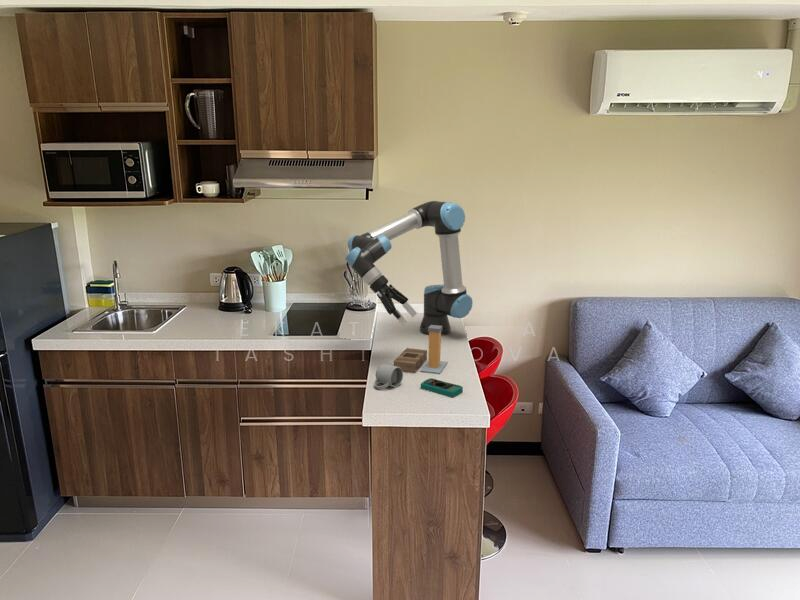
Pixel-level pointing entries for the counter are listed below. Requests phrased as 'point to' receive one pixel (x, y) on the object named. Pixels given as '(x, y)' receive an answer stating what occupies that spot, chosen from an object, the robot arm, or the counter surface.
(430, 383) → the digital multimeter
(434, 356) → the plug
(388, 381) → the ceramic mug
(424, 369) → the mat
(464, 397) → the counter surface
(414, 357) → the wooden socket block
